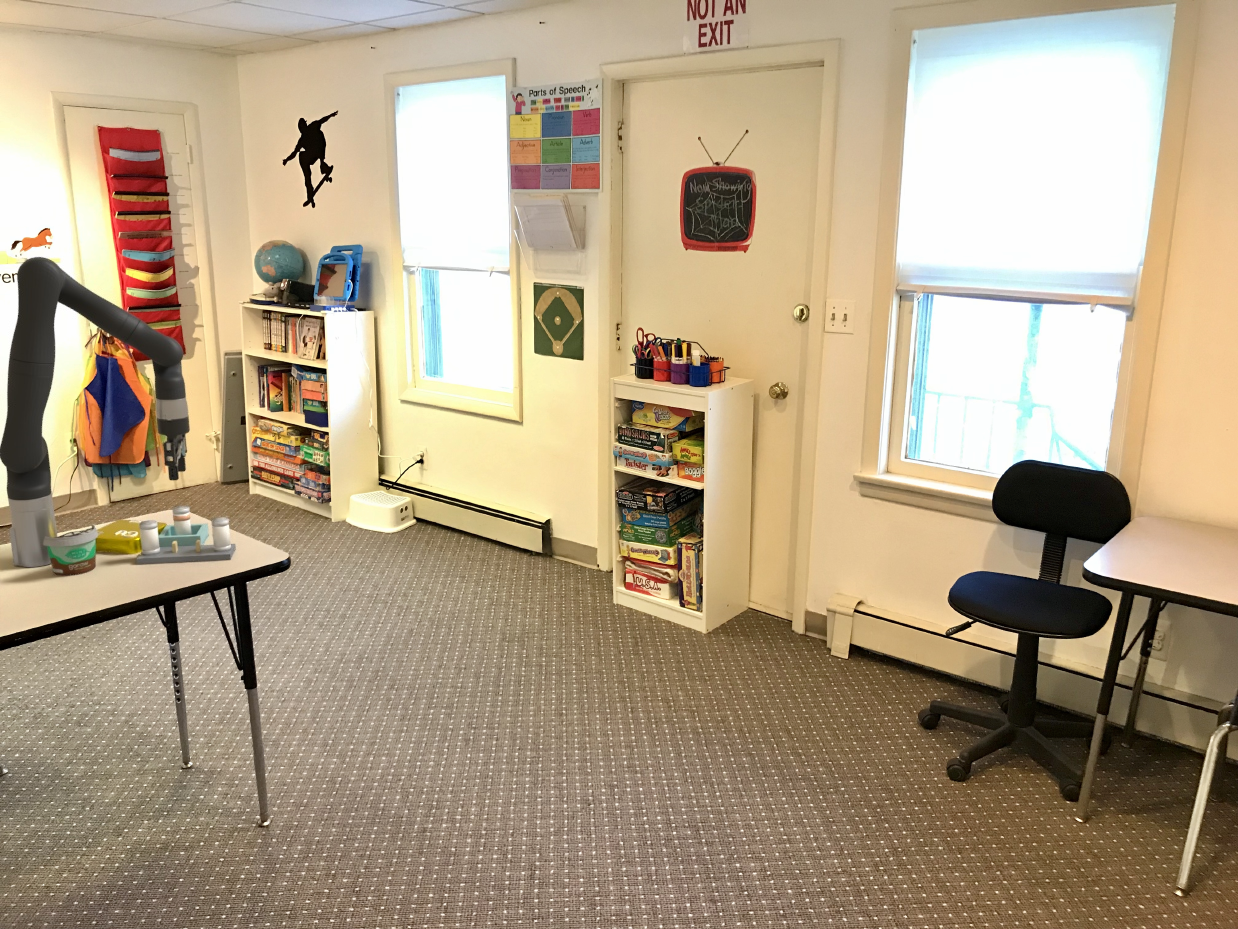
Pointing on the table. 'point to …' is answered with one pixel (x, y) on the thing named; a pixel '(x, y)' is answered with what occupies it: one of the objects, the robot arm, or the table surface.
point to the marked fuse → (182, 520)
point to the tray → (183, 536)
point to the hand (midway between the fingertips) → (177, 475)
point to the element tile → (122, 537)
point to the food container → (73, 552)
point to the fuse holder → (185, 553)
